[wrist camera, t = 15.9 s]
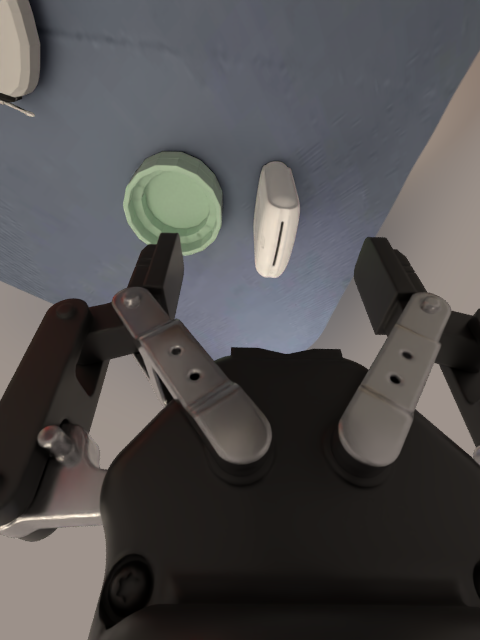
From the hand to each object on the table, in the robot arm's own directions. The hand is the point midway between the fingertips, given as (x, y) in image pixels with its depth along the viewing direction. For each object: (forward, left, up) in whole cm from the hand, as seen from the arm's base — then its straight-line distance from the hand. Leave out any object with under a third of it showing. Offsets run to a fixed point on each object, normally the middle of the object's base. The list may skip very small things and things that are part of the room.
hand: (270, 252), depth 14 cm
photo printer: (+12, +3, -30) cm, 33 cm away
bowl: (+12, -10, -30) cm, 34 cm away
